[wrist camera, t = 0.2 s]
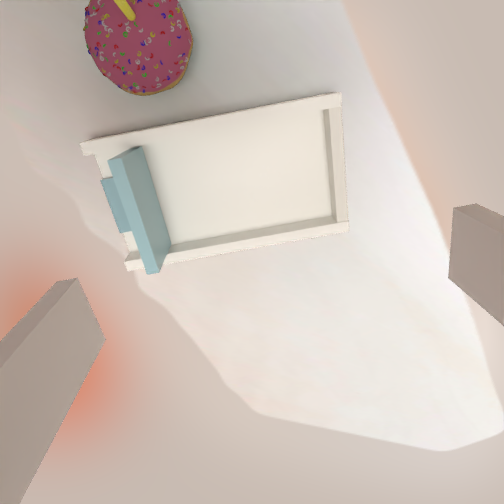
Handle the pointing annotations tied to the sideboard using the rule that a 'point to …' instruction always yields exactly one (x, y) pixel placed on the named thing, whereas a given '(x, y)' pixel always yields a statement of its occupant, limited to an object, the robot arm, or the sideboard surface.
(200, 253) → the white shallow tray
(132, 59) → the cupcake
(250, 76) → the sideboard surface
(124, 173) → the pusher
